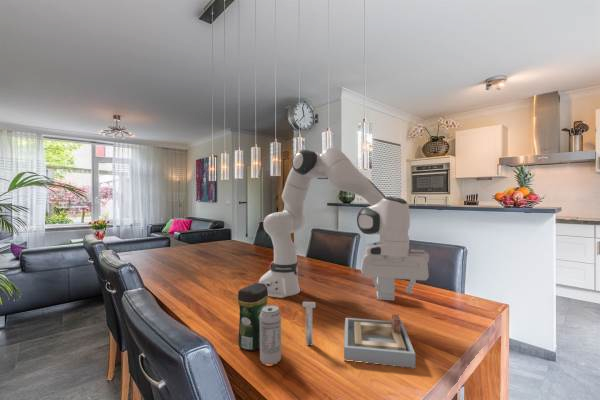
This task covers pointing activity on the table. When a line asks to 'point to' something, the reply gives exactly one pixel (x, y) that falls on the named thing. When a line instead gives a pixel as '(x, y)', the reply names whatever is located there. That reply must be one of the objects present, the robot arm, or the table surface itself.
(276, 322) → the energy drink can
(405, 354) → the tray
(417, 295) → the table surface
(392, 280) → the supplement box
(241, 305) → the coffee jar
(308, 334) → the rod
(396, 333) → the ring
